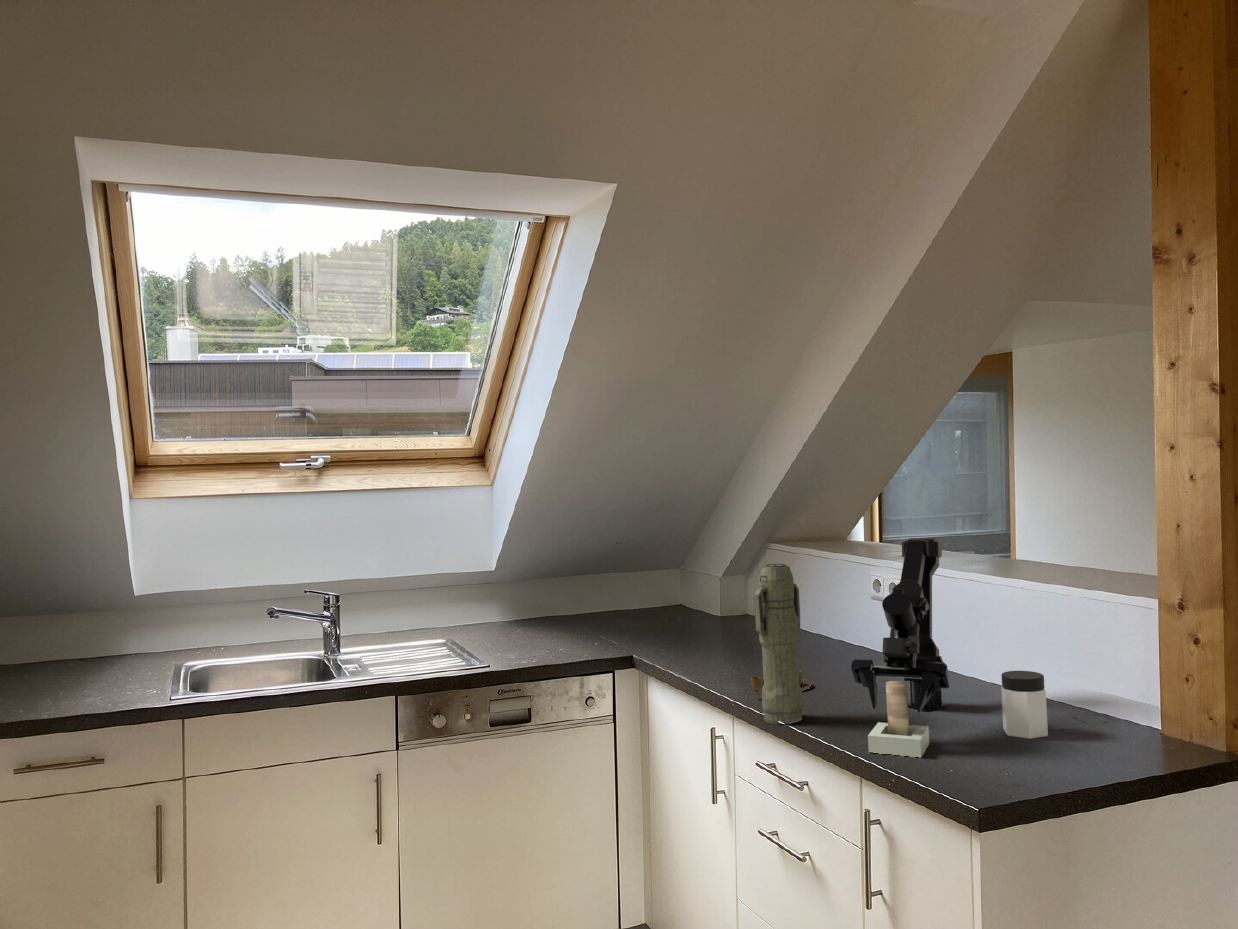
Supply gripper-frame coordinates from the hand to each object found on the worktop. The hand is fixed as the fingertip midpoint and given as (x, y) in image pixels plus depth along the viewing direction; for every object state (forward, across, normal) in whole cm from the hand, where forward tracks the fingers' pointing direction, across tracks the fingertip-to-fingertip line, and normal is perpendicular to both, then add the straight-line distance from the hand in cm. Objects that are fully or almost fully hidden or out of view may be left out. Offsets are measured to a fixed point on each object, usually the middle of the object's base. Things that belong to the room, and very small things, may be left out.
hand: (896, 709), depth 189 cm
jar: (-8, +22, +20) cm, 30 cm away
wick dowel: (+5, 0, +7) cm, 8 cm away
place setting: (-24, -38, +36) cm, 58 cm away
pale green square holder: (+5, 0, +7) cm, 8 cm away
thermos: (-5, -28, +17) cm, 33 cm away
